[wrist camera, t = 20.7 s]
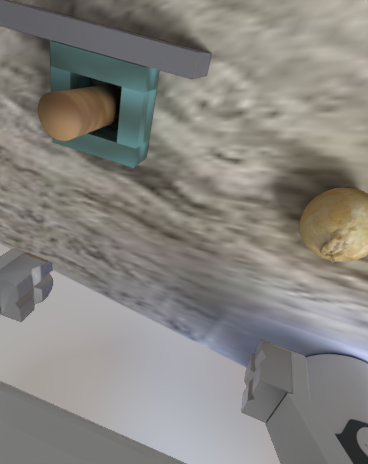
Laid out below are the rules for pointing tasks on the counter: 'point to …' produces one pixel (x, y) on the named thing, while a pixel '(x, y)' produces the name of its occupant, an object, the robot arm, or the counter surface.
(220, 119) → the counter surface
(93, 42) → the wall
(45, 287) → the robot arm
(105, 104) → the dowel
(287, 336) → the counter surface
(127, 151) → the block
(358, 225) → the onion
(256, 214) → the counter surface
